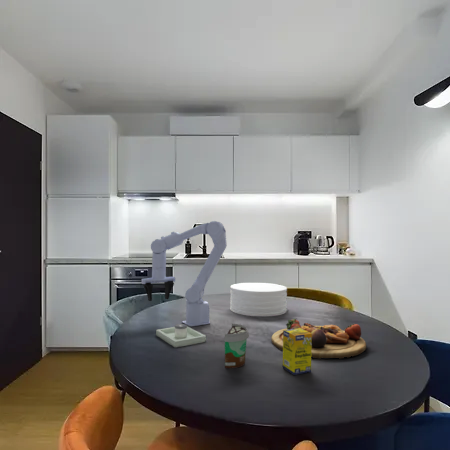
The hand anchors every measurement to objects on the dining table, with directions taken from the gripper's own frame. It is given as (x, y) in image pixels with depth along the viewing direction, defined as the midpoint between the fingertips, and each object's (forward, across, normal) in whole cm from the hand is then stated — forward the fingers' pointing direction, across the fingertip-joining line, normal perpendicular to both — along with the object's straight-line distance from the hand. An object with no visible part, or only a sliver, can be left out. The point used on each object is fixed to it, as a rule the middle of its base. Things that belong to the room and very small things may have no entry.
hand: (158, 299), depth 148 cm
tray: (+9, +2, +25) cm, 27 cm away
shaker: (+9, +2, +25) cm, 27 cm away
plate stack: (+10, -52, +3) cm, 53 cm away
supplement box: (+10, -13, +68) cm, 70 cm away
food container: (+10, -2, +55) cm, 56 cm away
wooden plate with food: (+10, -36, +55) cm, 67 cm away
